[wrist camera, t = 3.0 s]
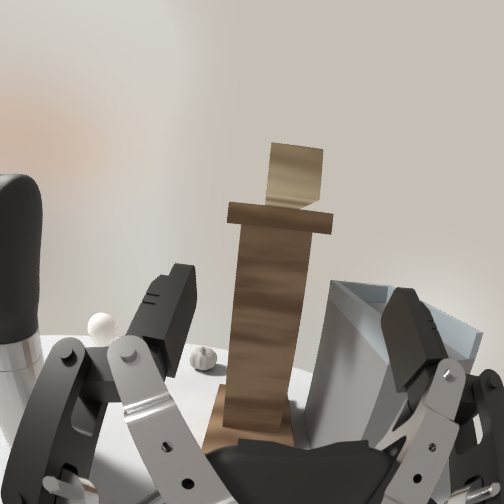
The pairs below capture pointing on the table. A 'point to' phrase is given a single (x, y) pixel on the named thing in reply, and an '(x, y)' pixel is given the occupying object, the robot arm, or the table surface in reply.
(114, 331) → the lightbulb
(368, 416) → the tray stand
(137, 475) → the table surface
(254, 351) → the post
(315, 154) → the tan wooden bar
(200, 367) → the garlic
